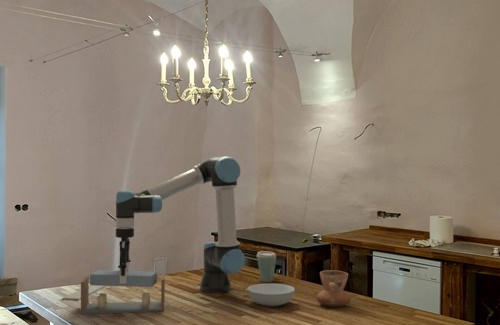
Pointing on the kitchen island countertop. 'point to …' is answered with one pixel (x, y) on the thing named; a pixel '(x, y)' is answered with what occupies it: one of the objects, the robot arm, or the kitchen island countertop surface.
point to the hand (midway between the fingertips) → (124, 280)
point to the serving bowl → (271, 294)
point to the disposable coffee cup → (266, 265)
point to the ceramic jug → (333, 289)
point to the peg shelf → (119, 307)
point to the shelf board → (132, 278)
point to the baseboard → (77, 294)
